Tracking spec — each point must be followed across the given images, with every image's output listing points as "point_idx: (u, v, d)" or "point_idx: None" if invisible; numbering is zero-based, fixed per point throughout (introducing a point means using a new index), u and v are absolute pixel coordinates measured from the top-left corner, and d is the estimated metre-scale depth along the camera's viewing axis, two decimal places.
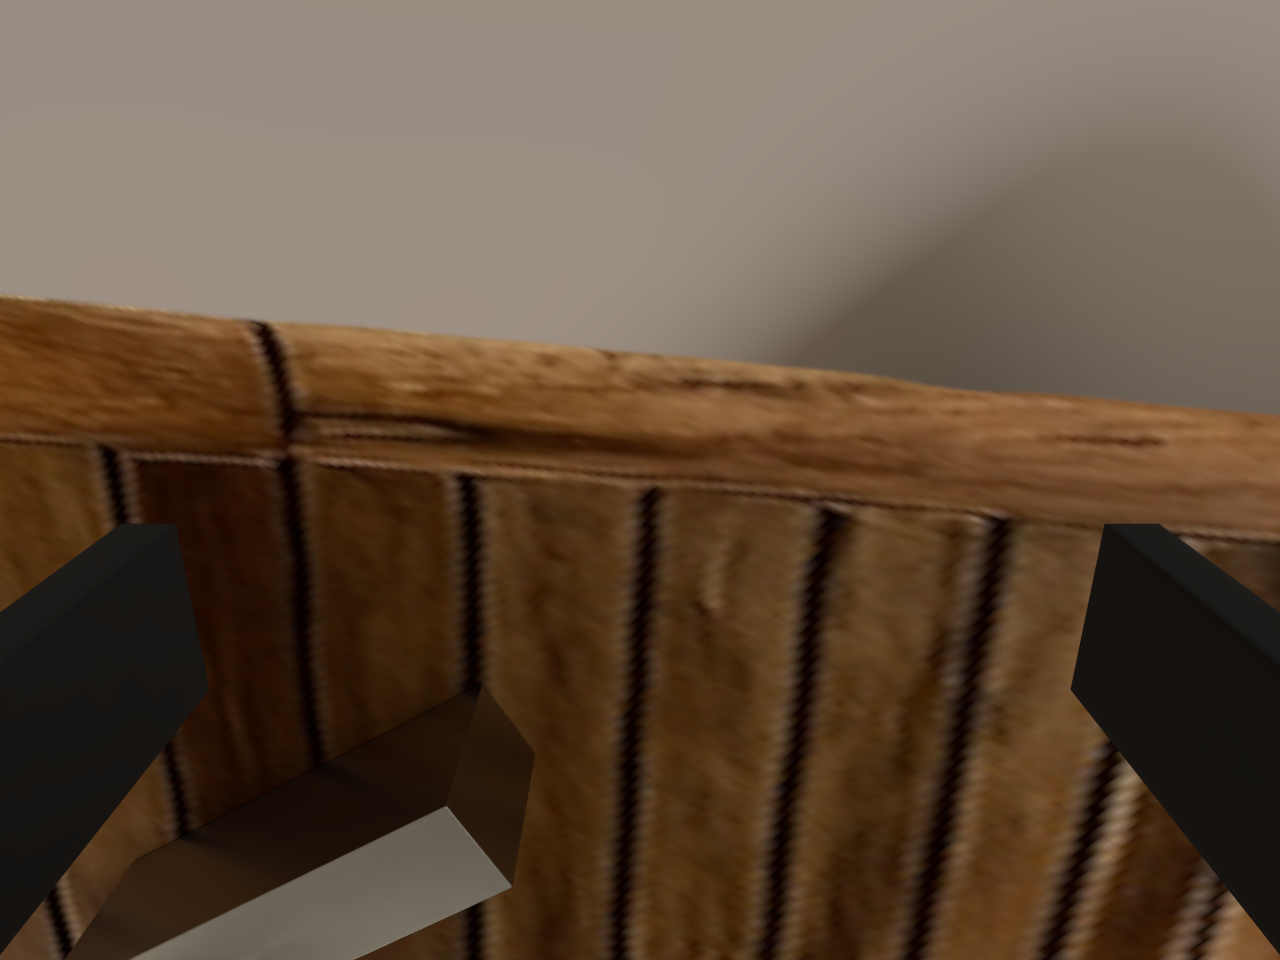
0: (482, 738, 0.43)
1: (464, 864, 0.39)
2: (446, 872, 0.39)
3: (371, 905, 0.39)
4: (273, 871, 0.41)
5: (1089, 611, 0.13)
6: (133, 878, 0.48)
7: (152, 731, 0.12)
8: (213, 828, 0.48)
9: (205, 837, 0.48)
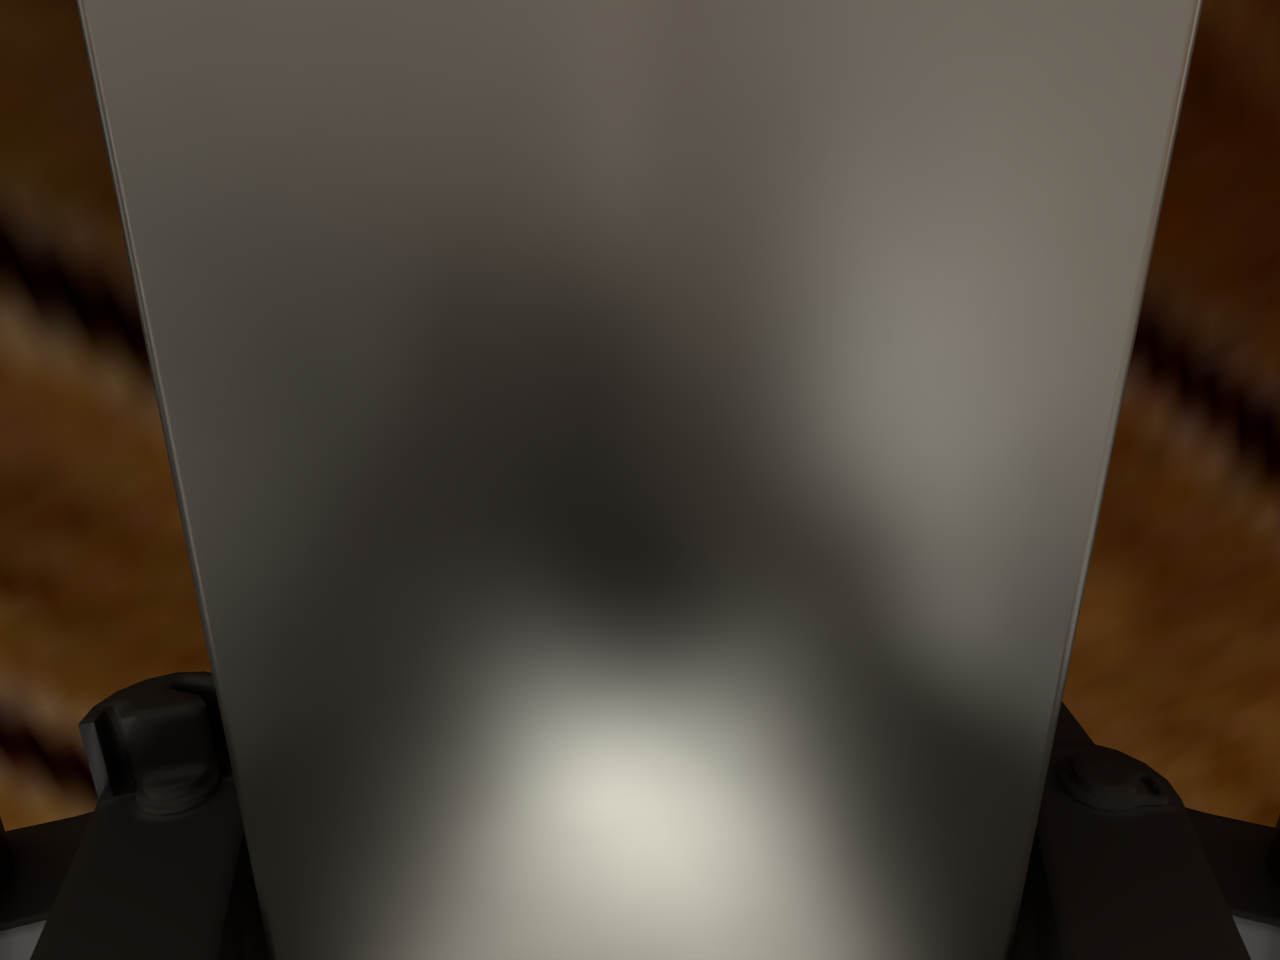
0: None
1: None
2: None
3: (597, 866, 0.06)
4: None
5: None
6: None
7: None
8: None
9: None
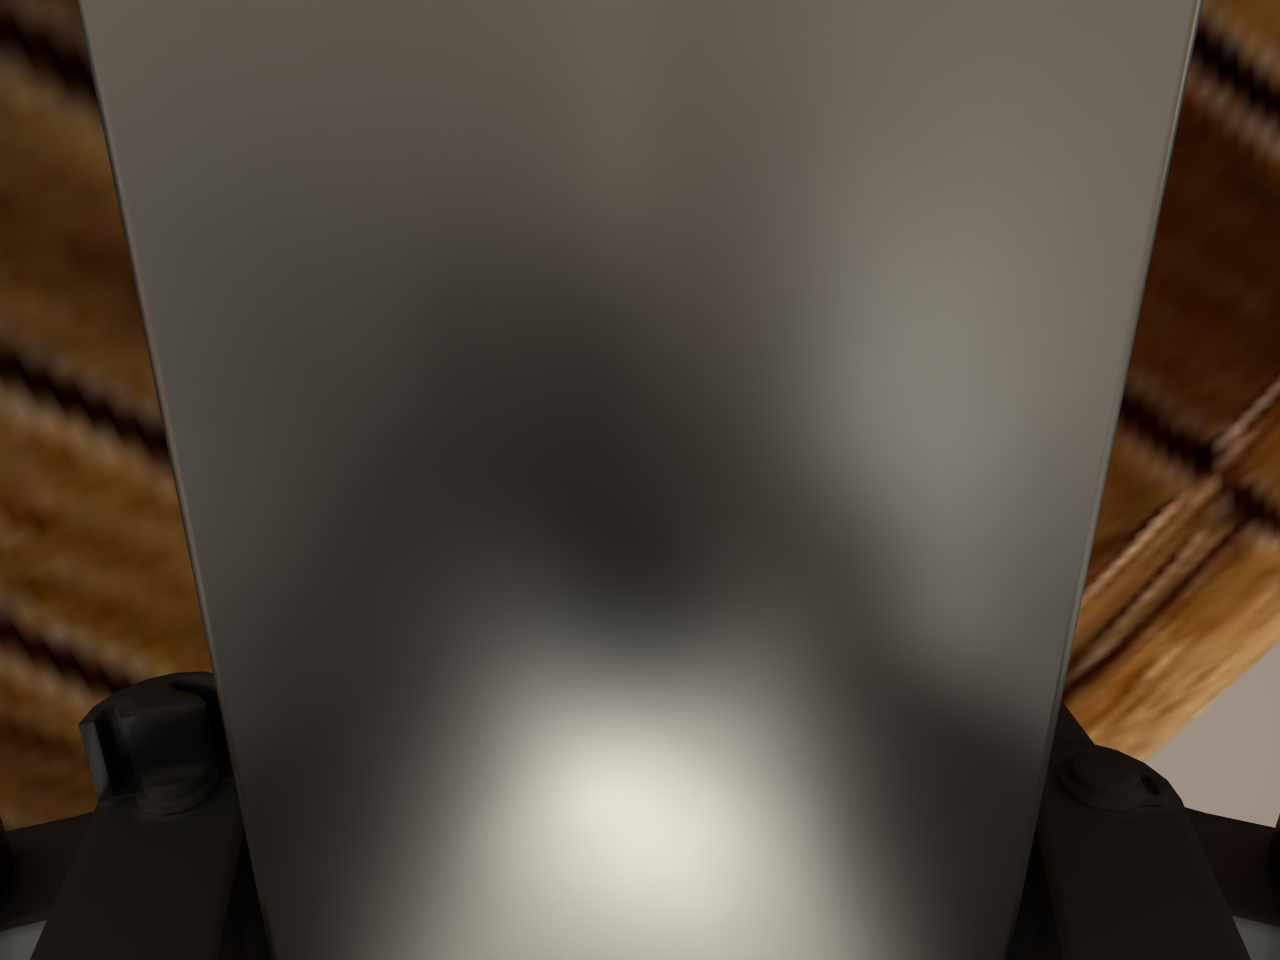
0: None
1: None
2: None
3: (597, 867, 0.06)
4: None
5: None
6: None
7: None
8: None
9: None
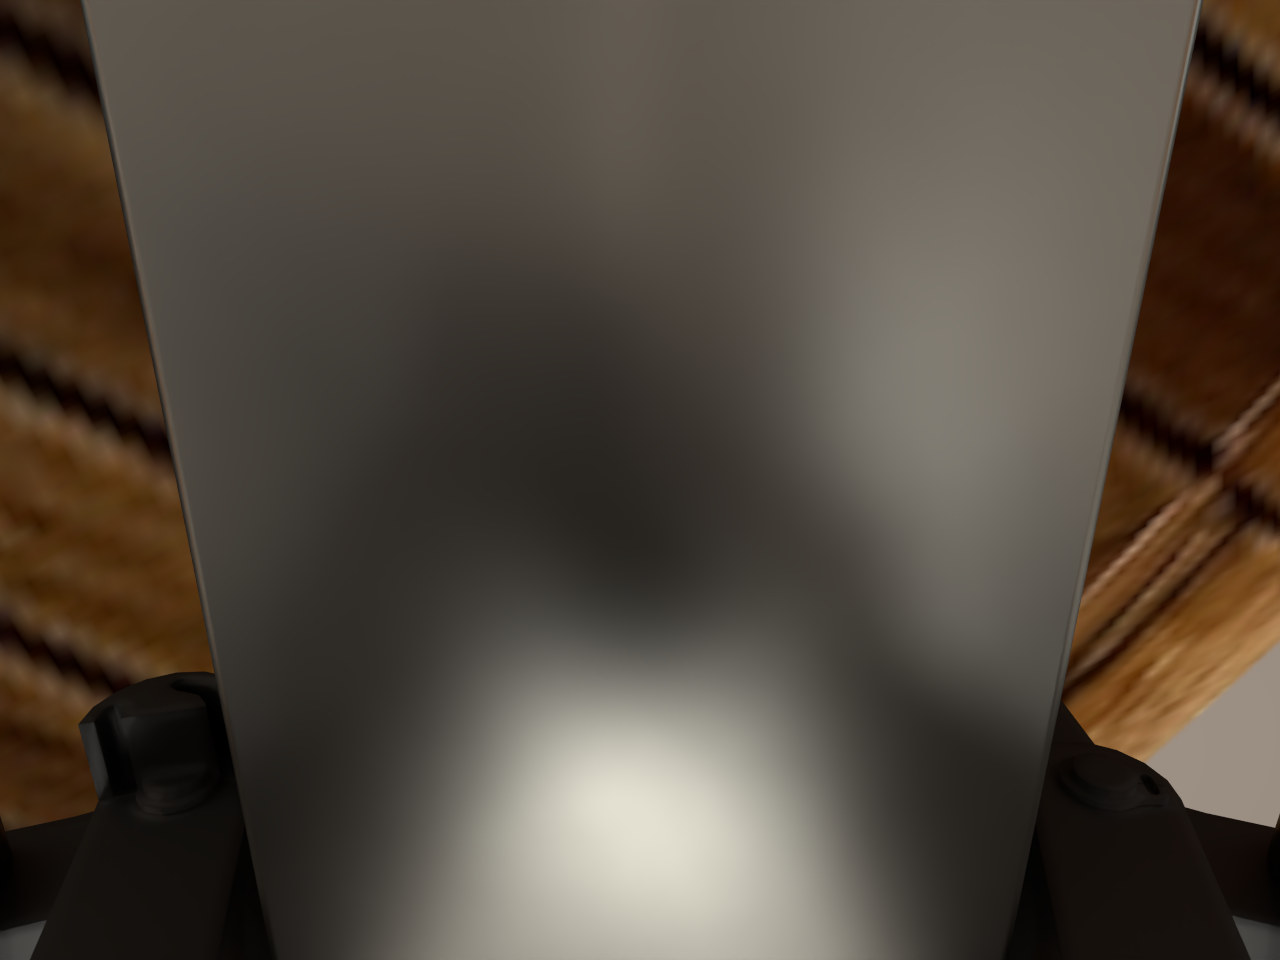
0: None
1: None
2: None
3: (597, 864, 0.06)
4: None
5: None
6: None
7: None
8: None
9: None
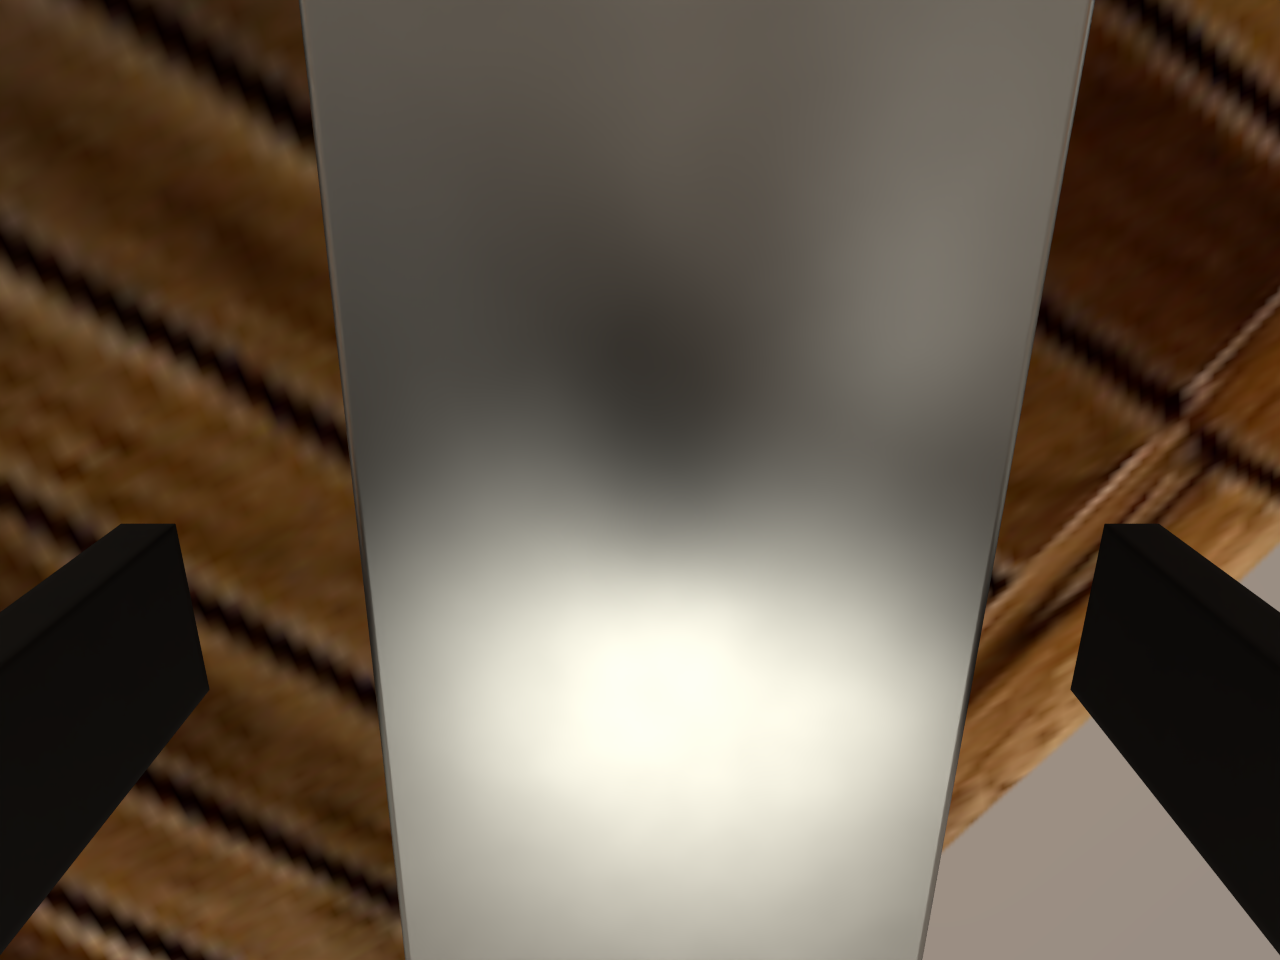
0: None
1: None
2: (621, 931, 0.09)
3: (641, 569, 0.07)
4: None
5: (1089, 611, 0.13)
6: None
7: (152, 730, 0.12)
8: None
9: None
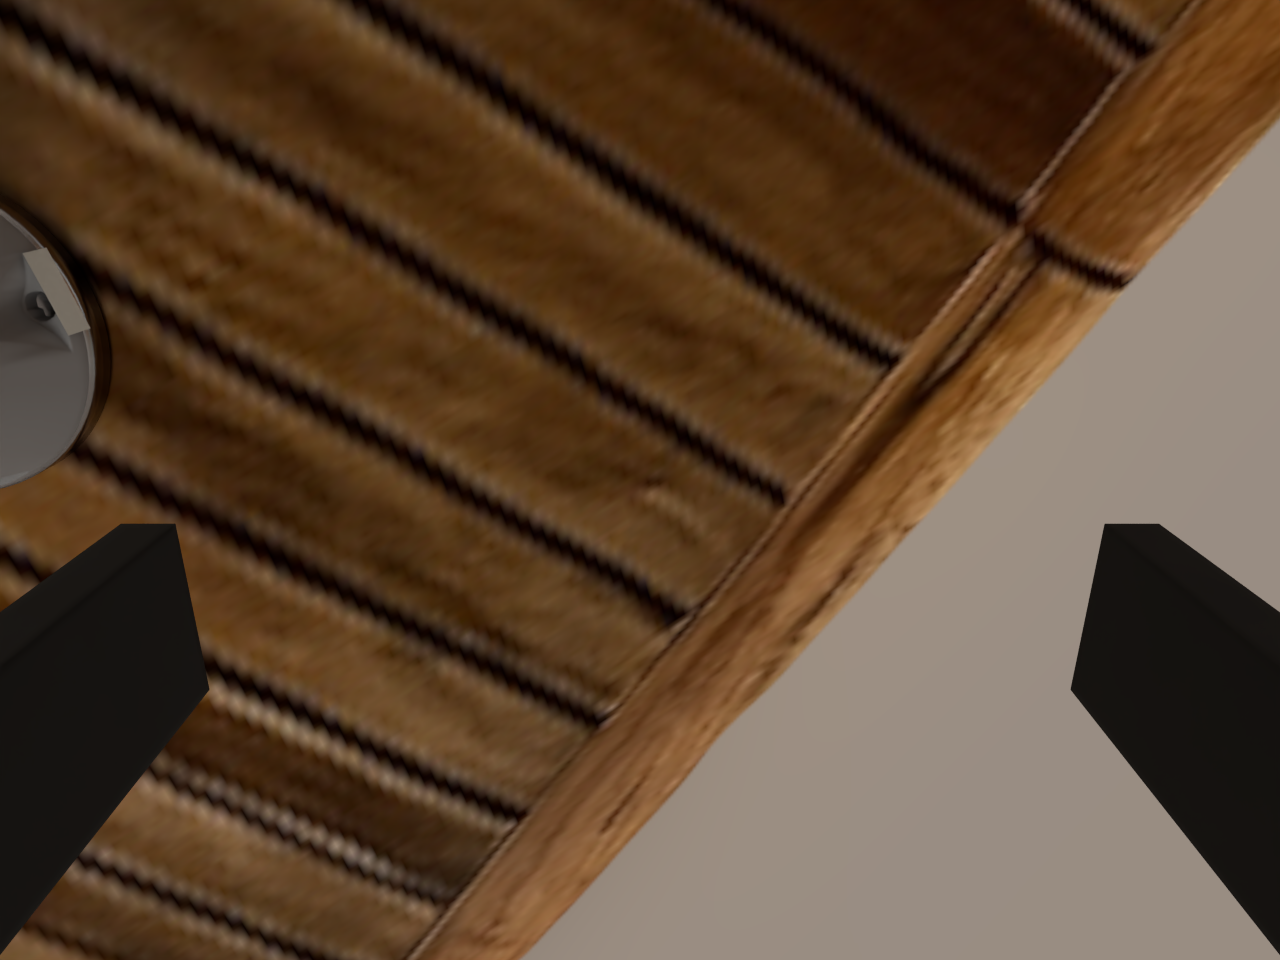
0: None
1: None
2: None
3: None
4: None
5: (1089, 611, 0.13)
6: None
7: (152, 730, 0.12)
8: None
9: None
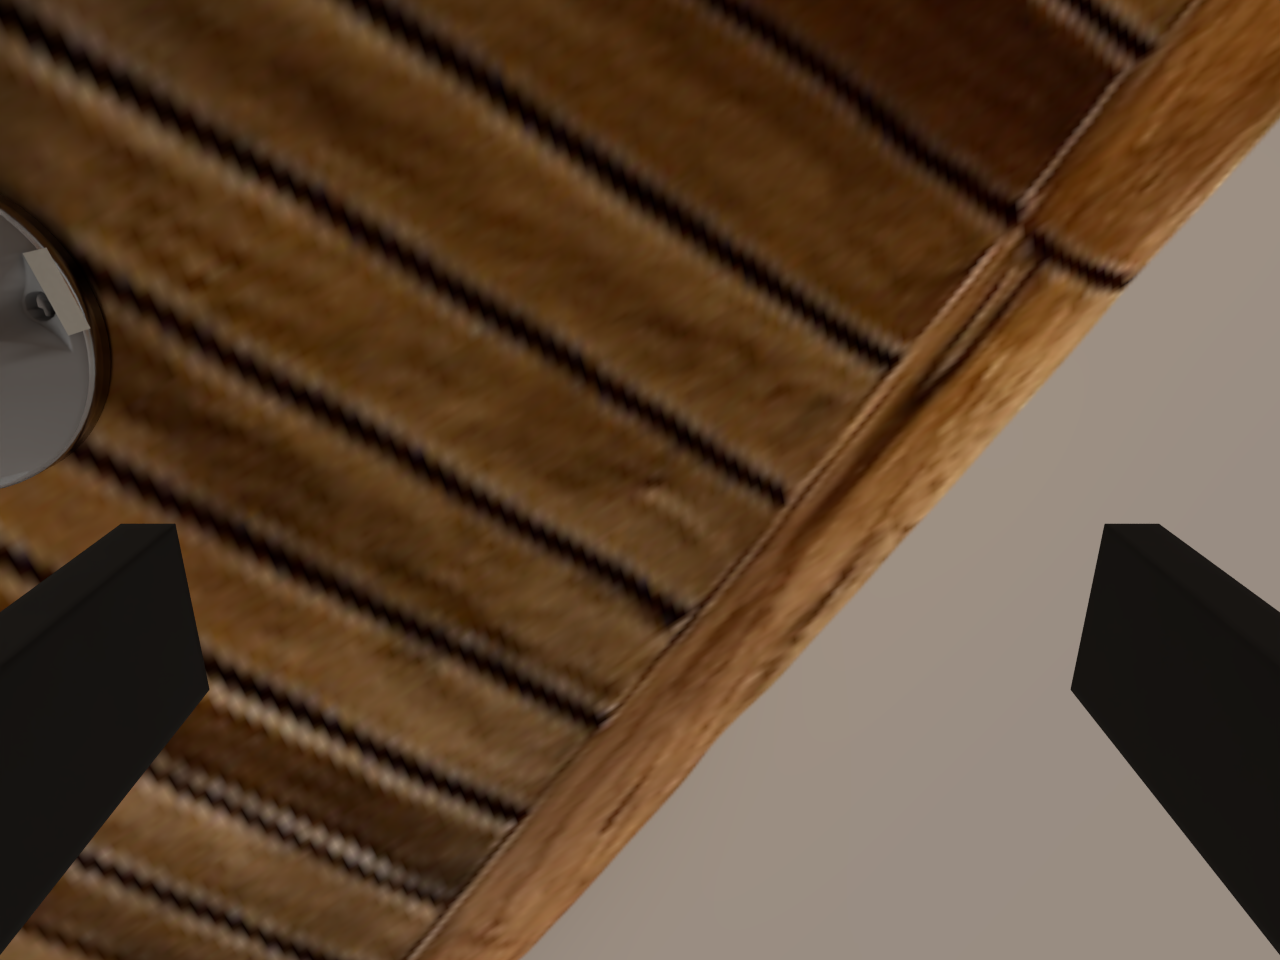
0: None
1: None
2: None
3: None
4: None
5: (1089, 611, 0.13)
6: None
7: (152, 730, 0.12)
8: None
9: None
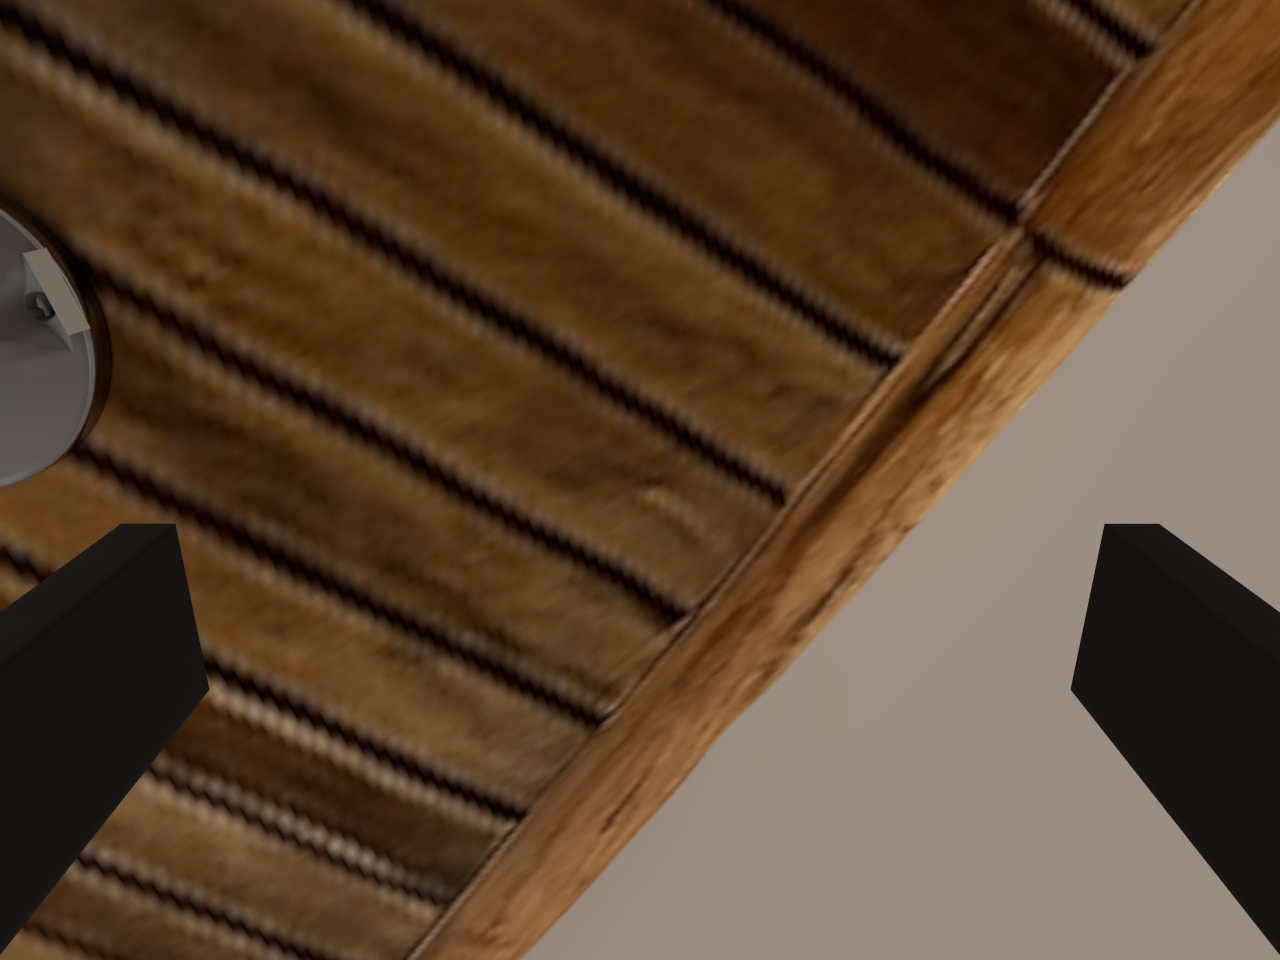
0: None
1: None
2: None
3: None
4: None
5: (1089, 611, 0.13)
6: None
7: (152, 730, 0.12)
8: None
9: None
